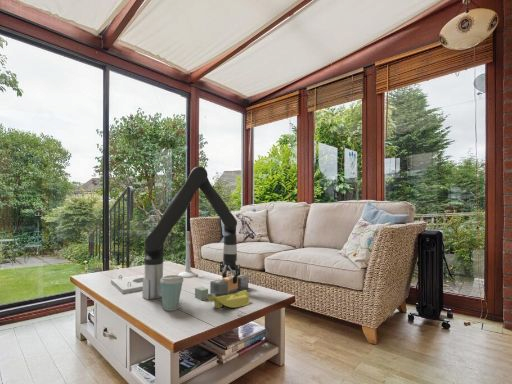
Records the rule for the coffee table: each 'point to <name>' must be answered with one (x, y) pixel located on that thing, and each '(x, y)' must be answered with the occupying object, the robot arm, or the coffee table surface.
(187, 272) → the candlestick
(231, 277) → the orange module
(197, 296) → the green block
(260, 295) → the coffee table surface
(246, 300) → the plastic component
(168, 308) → the disposable coffee cup
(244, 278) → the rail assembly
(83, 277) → the coffee table surface
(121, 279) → the mounting panel
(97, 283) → the coffee table surface
